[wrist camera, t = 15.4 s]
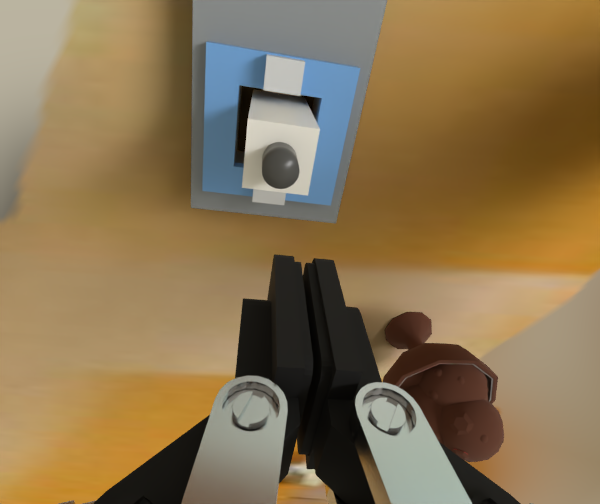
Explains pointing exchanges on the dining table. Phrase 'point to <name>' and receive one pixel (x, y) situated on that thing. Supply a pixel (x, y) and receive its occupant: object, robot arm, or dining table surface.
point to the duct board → (295, 37)
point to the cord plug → (279, 143)
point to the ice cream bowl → (447, 388)
